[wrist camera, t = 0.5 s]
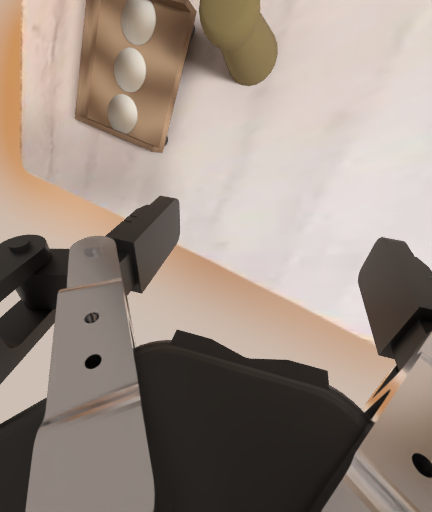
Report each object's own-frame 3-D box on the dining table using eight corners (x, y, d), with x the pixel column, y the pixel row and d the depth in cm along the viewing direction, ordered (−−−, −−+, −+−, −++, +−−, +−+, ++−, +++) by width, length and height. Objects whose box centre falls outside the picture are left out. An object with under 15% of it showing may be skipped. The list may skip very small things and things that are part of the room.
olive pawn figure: (225, 87, 32) (188, 48, 22) (228, 27, 30) (188, -45, 20) (274, 84, 30) (257, 40, 20) (280, 20, 28) (265, -64, 18)
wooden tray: (114, -7, 33) (89, -31, 29) (201, 18, 30) (186, -4, 26) (97, 123, 39) (74, 118, 35) (167, 153, 37) (151, 151, 33)
